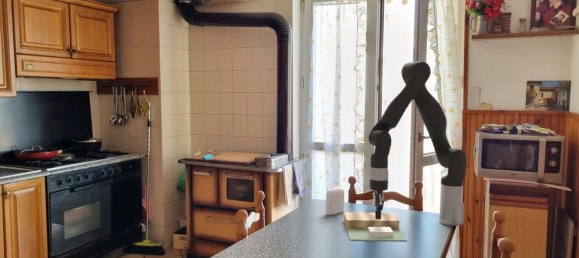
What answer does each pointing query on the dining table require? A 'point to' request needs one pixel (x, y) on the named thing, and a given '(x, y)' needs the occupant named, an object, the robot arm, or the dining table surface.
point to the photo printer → (335, 201)
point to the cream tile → (380, 232)
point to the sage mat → (364, 236)
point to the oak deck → (370, 220)
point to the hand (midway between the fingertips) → (378, 218)
